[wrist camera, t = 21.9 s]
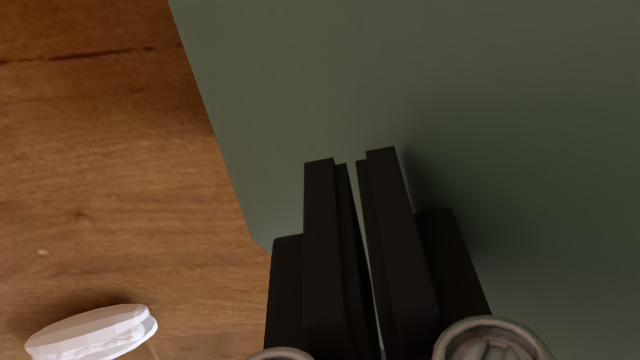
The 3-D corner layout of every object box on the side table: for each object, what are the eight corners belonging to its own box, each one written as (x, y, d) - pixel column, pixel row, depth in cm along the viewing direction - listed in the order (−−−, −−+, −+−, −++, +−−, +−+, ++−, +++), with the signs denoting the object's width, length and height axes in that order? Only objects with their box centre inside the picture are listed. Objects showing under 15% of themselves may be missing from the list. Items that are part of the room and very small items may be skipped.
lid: (1547, -354, 2) (1576, -342, 2) (810, 649, 8) (787, 692, 8) (157, -111, 14) (129, -104, 14) (268, 228, 21) (251, 239, 20)
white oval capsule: (28, 319, 33) (6, 357, 31) (145, 284, 32) (132, 321, 29) (58, 352, 34) (39, 390, 32) (171, 320, 33) (160, 357, 31)
